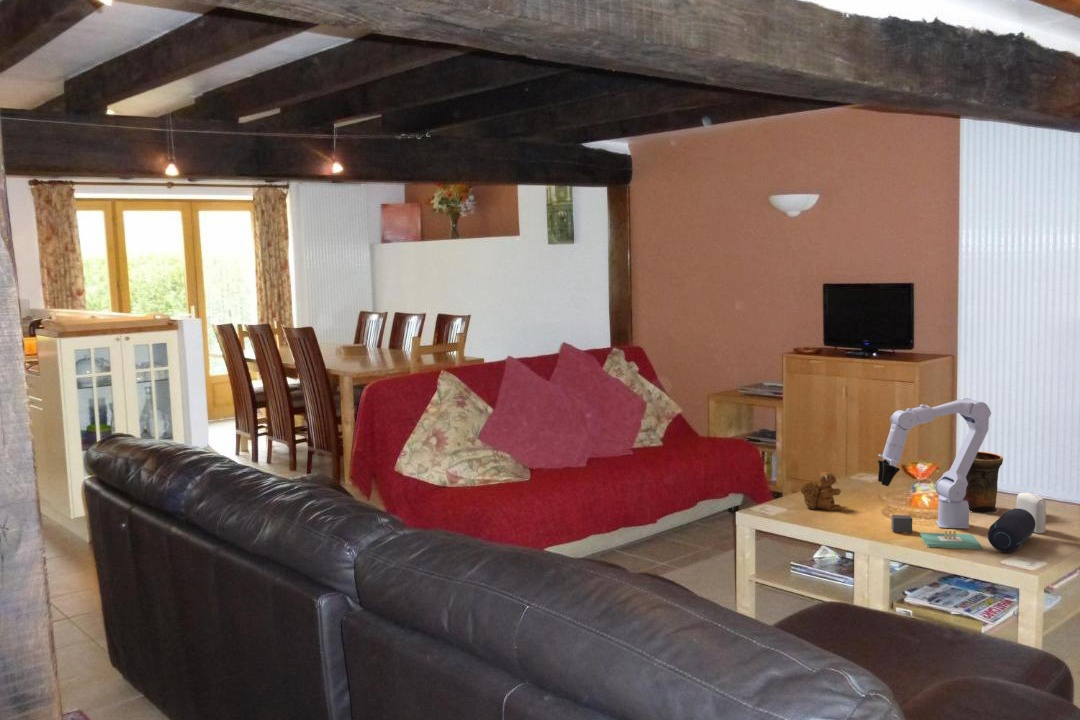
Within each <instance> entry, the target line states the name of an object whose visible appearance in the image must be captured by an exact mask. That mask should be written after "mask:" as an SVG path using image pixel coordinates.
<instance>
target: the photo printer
mask: <svg viewBox="0 0 1080 720" xmlns="http://www.w3.org/2000/svg"><path fill="white" fill-rule="evenodd" d="M1015 505H1016V506H1015V509H1024V510H1026V511H1028V512H1029V513H1031V514H1032V516H1033V517H1034V519H1035V524H1036V525H1035V529H1034V532H1033V533H1036V534H1044V533H1045V532H1046V512H1047V511H1046V508H1047V503H1046V500H1045V499H1044V498H1043V497H1041V496H1040V495H1038V494H1035V493H1032V492H1020V493H1019V494H1017V497H1016V504H1015Z"/></svg>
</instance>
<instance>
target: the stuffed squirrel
mask: <svg viewBox="0 0 1080 720" xmlns="http://www.w3.org/2000/svg"><path fill="white" fill-rule="evenodd" d="M817 475H818V477H819V478H818V480H819V484H818V483H817V482H816V481H814V480H809V481H808V480H806V481H803V483H802V484H800V485H799V486H800V487H801V488H800V493H801V494H802V495H803V498H804V499H803V500H804V503H805V505H806V506H807V507H808V508H810V509H813V510H816V509H821V510H827V511H841V510H842V509H843V508H842V505H841V504H838V503H837V504H835V502H836V501H835V498H834V496H839V495H840V494H841V489H840V488H834V487H833V485H835V483H836V484H838V481H837V479H836V478H837V477H836V476H835V475H834V474H833V473H831V472H829V471H822V472H820V471H819V472H818V474H817Z"/></svg>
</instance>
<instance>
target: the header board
mask: <svg viewBox="0 0 1080 720" xmlns="http://www.w3.org/2000/svg"><path fill="white" fill-rule="evenodd" d="M956 532H957V531H955V530H954V531H953V533H952V530H949V531H947V530H945V531H944V532H943V533H942V532H938V533H937V532H919V536H921V537H920V538H921V540H922V539H923V540H924V541H923V540H922V541H923V543H924V542H925V543H924V544H925V546H926V545H927V546H929V547H928V548H936V547H942V548H943V549H962V550H963V549H968V550H970V549H971V550H982V544H981V543H980V542H979V541H978V540H977V538H976V537H975V536H974V535H973V534H971V533H956ZM927 546H926V547H927Z"/></svg>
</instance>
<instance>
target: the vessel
mask: <svg viewBox="0 0 1080 720" xmlns="http://www.w3.org/2000/svg"><path fill="white" fill-rule="evenodd" d="M1003 462H1004V457H1003V456H1001V455H1000V454H997V453H992V452H988V451H980V450H979V451H978V453H977V455H976V457H975V459H974V461H973V463H972V465H971V467H970V469H969V471H968V473H967V475H966V480H967V483H968V485H967V487H966V495H965V497H964V499H963V500H966V501H968V504H969V510H970V511H972V512H971V513H973V514H978V515H979V514H982V515H985V514H987V515H988V514H989V515H993V514H996V513H999V512H1001V511H1002V510H1001V509H1000V508H996V506H997V505H996V504H997V497H998V496H997V495H998V481H999V480H998V478H999V471H1000V468H1001V466H1002V465H1003ZM970 511H969V512H970Z"/></svg>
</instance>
